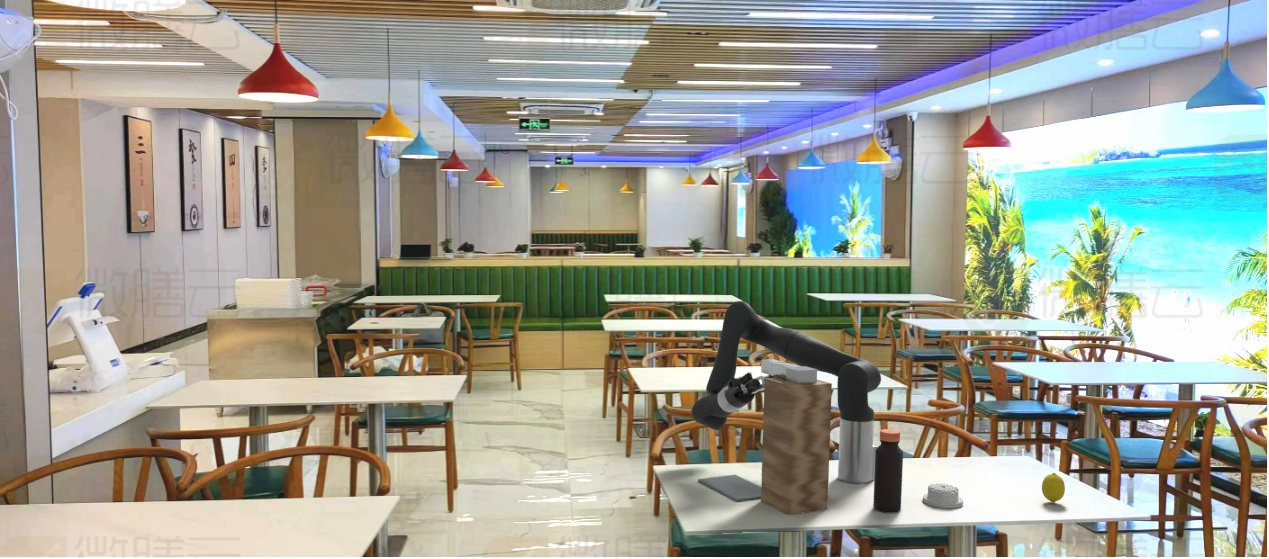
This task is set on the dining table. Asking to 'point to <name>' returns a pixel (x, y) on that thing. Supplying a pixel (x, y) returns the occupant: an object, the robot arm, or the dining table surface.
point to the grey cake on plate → (943, 496)
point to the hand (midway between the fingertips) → (764, 374)
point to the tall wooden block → (796, 445)
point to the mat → (733, 487)
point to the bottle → (888, 473)
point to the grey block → (789, 371)
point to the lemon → (1053, 487)
